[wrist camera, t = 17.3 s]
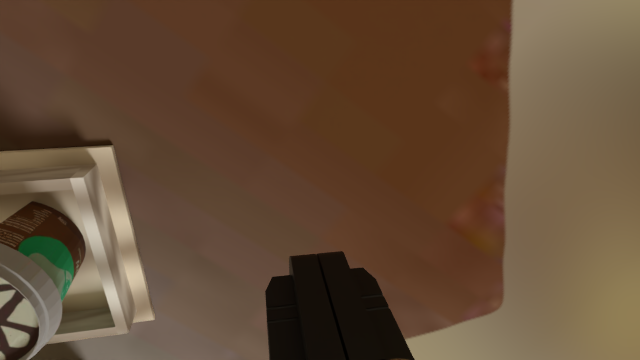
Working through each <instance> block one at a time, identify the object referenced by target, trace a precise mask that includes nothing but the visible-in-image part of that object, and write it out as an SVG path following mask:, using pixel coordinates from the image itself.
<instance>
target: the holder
mask: <svg viewBox="0 0 640 360" xmlns="http://www.w3.org/2000/svg"><path fill="white" fill-rule="evenodd" d="M31 201H34V202H38V203H42V204H45V205H47V206H50V207H52V208H54V209H56V210H58V211H59V212H61V213H62V214H64V215H65V216H67V217H68V218H69V219H70V220H71V221H72V222H73V223H74V224H75V225H76V226H77V227H78V229H79V230H80V232H81V233H82V235H83V238H84V241H85V246H86V253H85V258H84V261H83V263H82V265H81V266H80V268H79V270H78V272H77V274H76V276H75V278H74V280H73V282H72V284H71V285H70V287H69V289H68V291H67V293H66V295H65V297H64V299H63V301H62V318H61V321H60V325H59V327H58V329H57V331H56V332H55V334H54V335H53V337H52V338H51V339H50V340H49V341H48V342H47V343H46V344H52V343H59V342H67V341H74V340H81V339H89V338H96V337H103V336H110V335H118V334H125V333H129V331H130V328H131V325H132V323H134V322H142V321H149V320H154V319H155V314H154V310H153V306H152V302H151V298H150V294H149V289H148V285H147V281H146V277H145V273H144V269H143V265H142V261H141V257H140V253H139V249H138V245H137V240H136V236H135V232H134V228H133V224H132V220H131V216H130V212H129V208H128V204H127V200H126V196H125V191H124V187H123V183H122V179H121V175H120V171H119V167H118V163H117V159H116V155H115V151H114V147H113V145H106V146H88V147H70V148H52V149H34V150H15V151H0V223H1V222H3V221H4V220H6V219H7V218H8V217H10V216H11V215H13V214H14V213H16V212H17V211H18V210H20V209H21V208H23V207H24V206H26V205H27V204H28V203H30V202H31Z"/></svg>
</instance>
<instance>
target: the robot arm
mask: <svg viewBox="0 0 640 360" xmlns="http://www.w3.org/2000/svg"><path fill="white" fill-rule="evenodd" d="M265 292H266V311H267V329H268V345H269V360H414V358H413V356H412V354H411V352H410V350H409V348H408V346H407V344H406V341H405V339H404V337H403V335H402V333H401V331H400V329H399V327H398V325H397V323H396V321H395V318H394V316H393V314H392V312H391V310H390V309H389V308H388V304H387V302H386V300H385V298H384V296H383V293H382V291H381V289H380V287H379V285H378V283H377V281H376V279H375V278H374V277H373V276H372V275H370V274H369V273H368V272H367V271H366V270H365V269H364V268H354V269H350V267H349V265H348V262H347V260H346V257H345V255H344V253H343V252H342V251H340V252H329V253H319V254H317V255H316V254H309V255H299V256H290V257H289V275H287V276H277V277H272V279H271V281H270V283H269V285H268V287H267V289H266V291H265Z"/></svg>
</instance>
